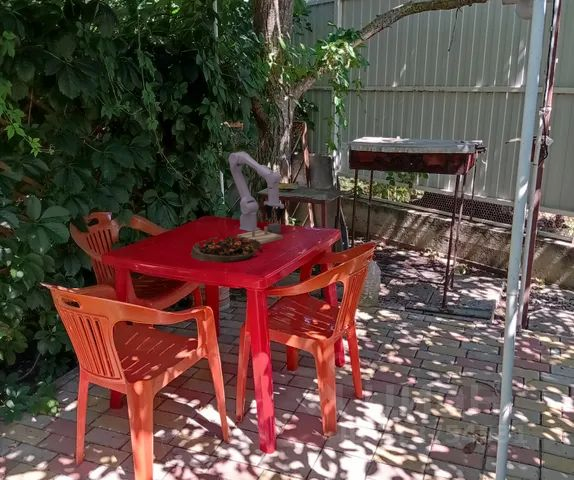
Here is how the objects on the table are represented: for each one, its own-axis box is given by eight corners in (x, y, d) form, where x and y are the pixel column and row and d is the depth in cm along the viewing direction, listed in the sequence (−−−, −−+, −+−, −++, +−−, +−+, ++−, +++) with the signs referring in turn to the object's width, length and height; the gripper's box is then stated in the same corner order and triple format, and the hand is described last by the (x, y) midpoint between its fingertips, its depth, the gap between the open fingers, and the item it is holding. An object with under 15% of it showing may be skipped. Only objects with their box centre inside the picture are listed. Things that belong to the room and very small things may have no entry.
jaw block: (267, 233, 323) (267, 224, 322) (276, 231, 327) (275, 222, 326) (272, 234, 320) (272, 225, 319) (280, 232, 324) (280, 224, 323)
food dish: (250, 243, 308) (250, 229, 306) (271, 261, 278) (271, 245, 276) (183, 248, 295) (183, 233, 293) (198, 268, 266) (197, 251, 264)
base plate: (237, 237, 315) (236, 227, 313) (259, 232, 325) (259, 222, 324) (259, 244, 301) (259, 233, 300) (282, 238, 312) (282, 228, 310)
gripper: (259, 194, 321) (260, 218, 324) (277, 197, 311) (277, 222, 314) (269, 192, 326) (269, 216, 329) (286, 195, 315) (287, 220, 319)
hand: (274, 219), depth 322 cm, fingers open, 7 cm apart
